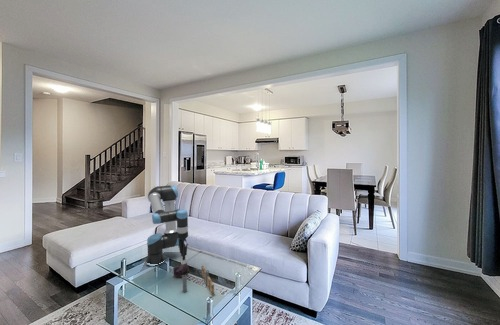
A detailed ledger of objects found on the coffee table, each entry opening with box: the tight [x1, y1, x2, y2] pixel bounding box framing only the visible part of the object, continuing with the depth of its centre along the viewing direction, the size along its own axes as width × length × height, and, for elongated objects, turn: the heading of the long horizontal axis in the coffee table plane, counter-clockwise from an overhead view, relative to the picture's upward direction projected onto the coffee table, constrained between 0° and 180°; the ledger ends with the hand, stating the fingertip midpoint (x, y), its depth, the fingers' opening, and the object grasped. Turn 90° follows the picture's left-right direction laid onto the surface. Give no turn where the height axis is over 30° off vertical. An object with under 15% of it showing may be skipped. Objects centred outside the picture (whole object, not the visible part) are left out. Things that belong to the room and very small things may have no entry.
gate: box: [201, 265, 207, 283], centre depth 166 cm, size 12×1×7 cm, turn 26°
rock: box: [172, 262, 190, 278], centre depth 172 cm, size 12×9×10 cm
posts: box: [181, 269, 210, 294], centre depth 156 cm, size 3×18×11 cm, turn 116°
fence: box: [206, 275, 215, 297], centre depth 152 cm, size 12×1×7 cm, turn 26°
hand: (183, 263), depth 164 cm, fingers closed
